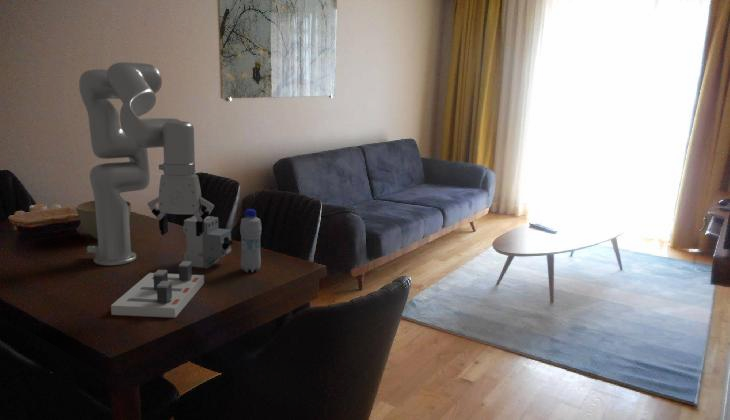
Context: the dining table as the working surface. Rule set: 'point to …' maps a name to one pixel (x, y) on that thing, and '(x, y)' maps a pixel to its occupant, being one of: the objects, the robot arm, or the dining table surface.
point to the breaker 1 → (164, 291)
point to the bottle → (250, 241)
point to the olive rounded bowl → (90, 216)
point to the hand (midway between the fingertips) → (181, 234)
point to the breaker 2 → (185, 270)
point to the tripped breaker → (160, 277)
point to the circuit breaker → (206, 242)
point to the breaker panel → (145, 297)
